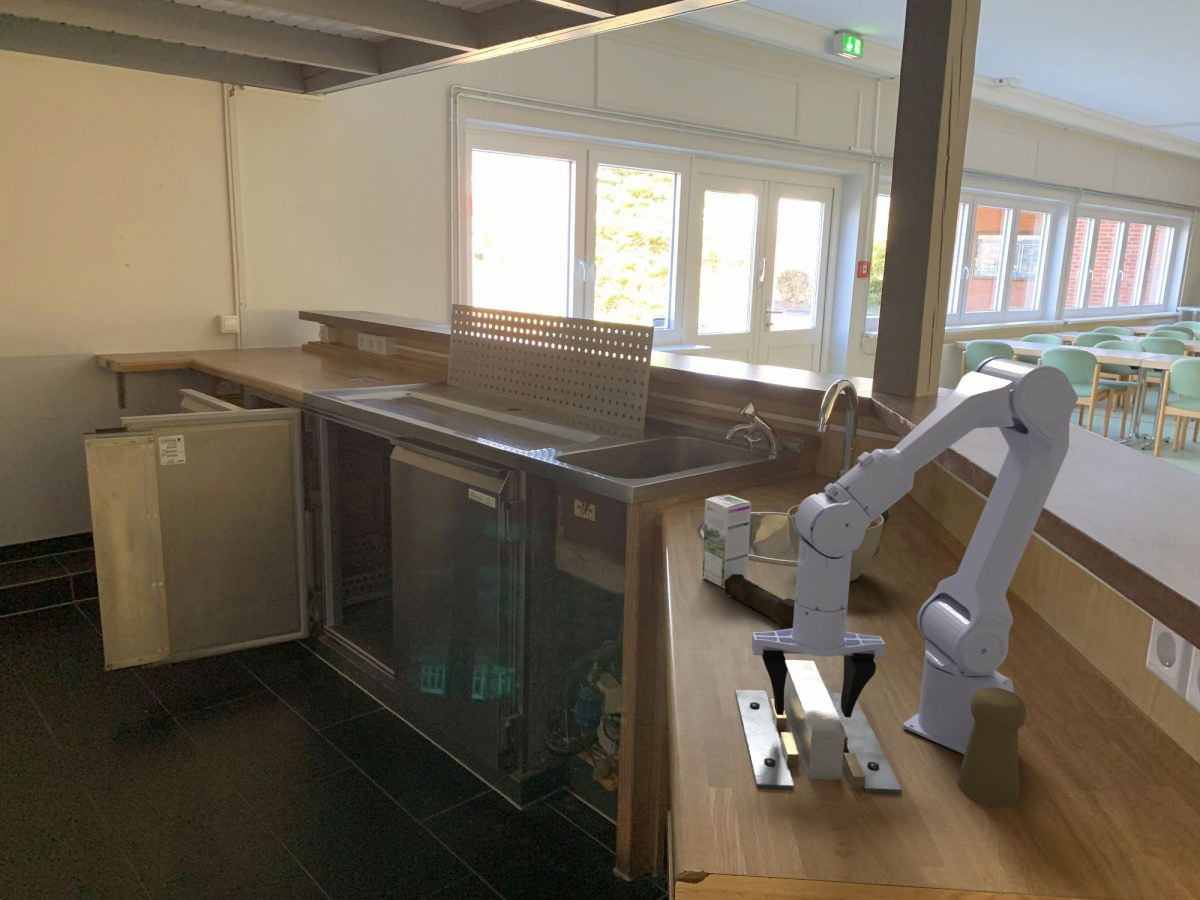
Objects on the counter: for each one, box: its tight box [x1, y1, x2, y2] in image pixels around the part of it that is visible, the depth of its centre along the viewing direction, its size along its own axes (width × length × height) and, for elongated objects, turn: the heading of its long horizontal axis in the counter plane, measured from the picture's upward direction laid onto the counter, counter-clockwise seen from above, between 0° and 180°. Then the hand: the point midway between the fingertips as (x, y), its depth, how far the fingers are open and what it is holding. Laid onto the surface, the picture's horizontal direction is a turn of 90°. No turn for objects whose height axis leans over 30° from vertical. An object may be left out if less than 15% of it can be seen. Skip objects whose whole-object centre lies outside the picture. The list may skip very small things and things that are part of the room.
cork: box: [956, 687, 1027, 807], centre depth 90 cm, size 6×6×11 cm
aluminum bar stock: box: [784, 659, 845, 781], centre depth 99 cm, size 4×16×6 cm, turn 178°
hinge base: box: [735, 686, 903, 795], centre depth 100 cm, size 15×20×2 cm
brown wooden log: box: [724, 574, 795, 630], centre depth 133 cm, size 19×4×5 cm, turn 26°
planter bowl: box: [786, 504, 885, 582], centre depth 151 cm, size 16×16×11 cm
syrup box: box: [701, 494, 752, 588], centre depth 146 cm, size 6×6×14 cm
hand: (812, 711), depth 99 cm, fingers open, 7 cm apart
